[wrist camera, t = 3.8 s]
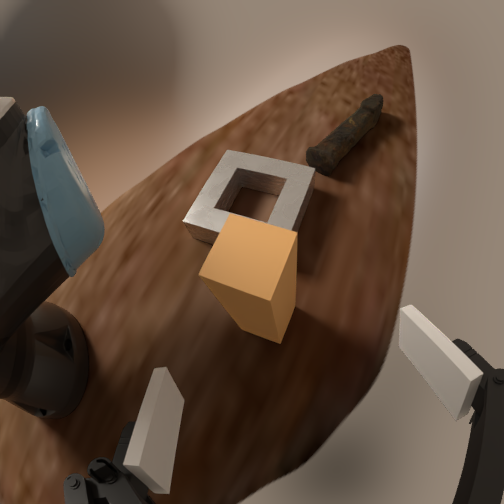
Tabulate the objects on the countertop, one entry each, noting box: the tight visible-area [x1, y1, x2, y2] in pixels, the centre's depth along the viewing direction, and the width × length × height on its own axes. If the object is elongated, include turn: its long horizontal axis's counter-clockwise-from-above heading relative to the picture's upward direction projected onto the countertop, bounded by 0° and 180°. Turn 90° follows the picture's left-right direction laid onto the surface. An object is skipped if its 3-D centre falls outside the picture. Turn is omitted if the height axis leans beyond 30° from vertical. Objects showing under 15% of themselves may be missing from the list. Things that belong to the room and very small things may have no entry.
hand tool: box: [306, 94, 383, 176], centre depth 35 cm, size 19×4×5 cm, turn 135°
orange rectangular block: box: [198, 213, 298, 344], centre depth 21 cm, size 4×4×14 cm
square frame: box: [183, 150, 315, 245], centre depth 32 cm, size 11×11×4 cm
